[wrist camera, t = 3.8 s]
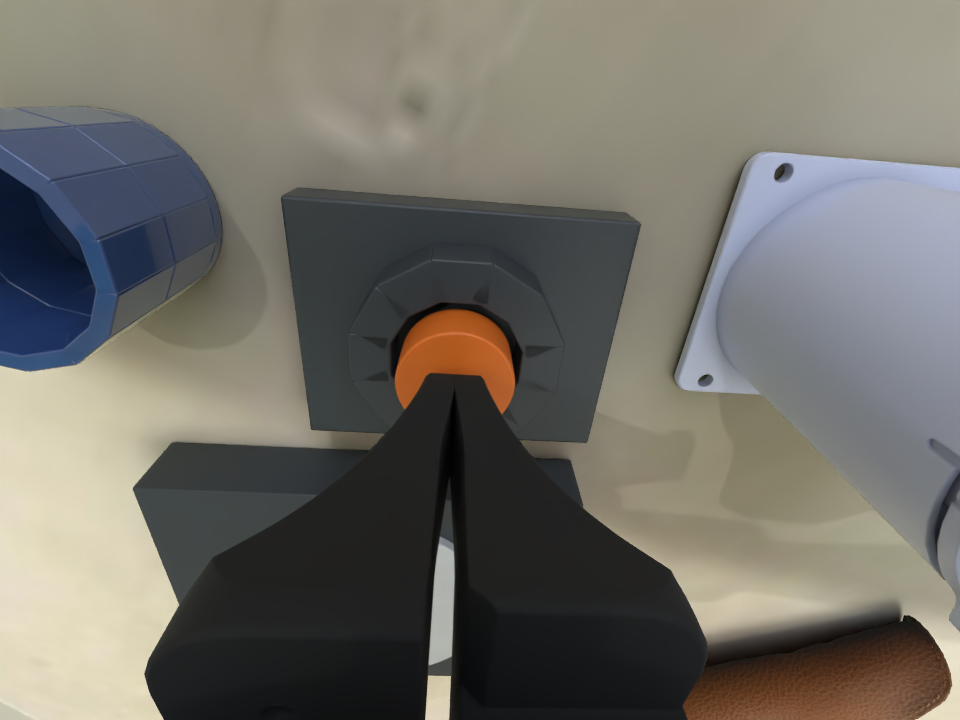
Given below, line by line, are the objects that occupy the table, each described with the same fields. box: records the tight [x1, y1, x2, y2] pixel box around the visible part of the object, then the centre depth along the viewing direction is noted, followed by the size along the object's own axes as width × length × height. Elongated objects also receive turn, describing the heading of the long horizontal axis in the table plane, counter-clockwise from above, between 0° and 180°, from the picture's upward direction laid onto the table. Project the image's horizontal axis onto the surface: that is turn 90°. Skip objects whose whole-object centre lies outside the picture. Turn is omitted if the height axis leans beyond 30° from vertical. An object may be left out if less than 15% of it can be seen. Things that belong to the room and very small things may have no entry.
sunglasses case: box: [683, 615, 952, 720], centre depth 26 cm, size 18×7×7 cm
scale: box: [133, 443, 583, 676], centre depth 20 cm, size 16×12×3 cm
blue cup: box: [0, 106, 222, 372], centre depth 12 cm, size 5×5×5 cm
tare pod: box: [281, 188, 641, 443], centre depth 15 cm, size 10×8×3 cm
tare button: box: [395, 309, 515, 414], centre depth 13 cm, size 3×3×2 cm
